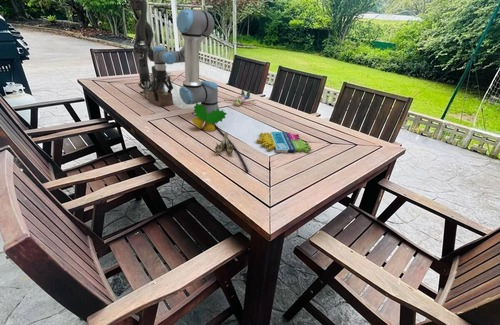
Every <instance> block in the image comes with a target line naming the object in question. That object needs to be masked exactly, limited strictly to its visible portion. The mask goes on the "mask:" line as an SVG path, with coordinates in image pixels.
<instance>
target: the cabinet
mask: <svg viewBox="0 0 500 325" xmlns="http://www.w3.org/2000/svg"><path fill="white" fill-rule="evenodd" d="M157 94H158V102H157V101H155V97H154V93H153V92H151V91H148V95H149V99H148V102H149V103H150V104H154V105H155V106H158V107H161V108H163V107H167V106H170V105H171V106H172V105H174V100H173V99H174V98H173V93H172V92H171V93H169V92H168V91H166V90H160V89H159V90H157Z"/></svg>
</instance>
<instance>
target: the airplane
mask: <svg viewBox="0 0 500 325" xmlns="http://www.w3.org/2000/svg"><path fill="white" fill-rule="evenodd" d="M165 70H166V77H167V76H169V77H175V75H174V74H171V72H167V68H166V69H165ZM149 75H150V81H151V82H152V78H153V77H152V72H149Z"/></svg>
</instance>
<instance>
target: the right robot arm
mask: <svg viewBox="0 0 500 325" xmlns="http://www.w3.org/2000/svg"><path fill="white" fill-rule="evenodd" d="M176 28H177V30H178V31H179V33H180V34H181V37H182V38H183V46H182V47H181V49H180V50H176V51H173V50H172V51H166V50H165V48H164V46H160V45H159V46H155V45H154V46H153V47H152V50H153V56H154V62H153V63H154V66H155V69H156V70H155V75H156V78H152V77H151V78H152V86H151V88H150V89H151V92H153V93H154V97H155V101H157V102H158V94H157V89H158V87H159V85H160V83H164V86H165V88H167V91H166V92H169V93H172V91H173V90H174V86H173V83H172V80H171V76H166V72H167V65H174V64H179V63H181V64H182V63H184V77H185V78H184V81H183V82H182V86H180V88H179V89H178V90H179V91H178V92H179V97H180V99H181V101H182V102H183V103H184V104H185V105H194V104H195V105H196V102H197V103H198V104H201V106H204V109H206V112H208V113H211V112H212V110H214V111H216V110H217V109H219V111H221V110H220V108H219V102H218V99H219V98H218V97H219V88H218V84H217V82H214V81H210V80H200V45H201V44H202V43H203V42H204V40H205V39H206V38H209V37H210V36H211V34H212V33H213V32H214V29H215V20H214V17H213V15H212V14H211V13H210V12H209V11H207V10H201V9H191V8H184V9H181V10H180V11H179V12H178V14H177V16H176ZM165 69H166V70H165ZM156 80H157V82H156ZM158 82H159V83H158ZM155 83H156V85H155ZM208 113H207V115H208ZM213 124H214V126H215V129H216V130H217V131H219V133H220V134H221V135H222V136H223V137H224V132H223V131H222V130H221V129H220V128H219V127H218V126H217V125H216V123H213ZM228 141H229V144H230V145H232V144H233V142H232V141H231V140H230V139H229V138H228ZM232 148H233V150H235V153H237V155H238V157H239V158H240V161H241V162H242V164H243V167H244V169H245V172H246V173H248V172H249V168H248V167H247V165H246V163H245V160H244V158H243V156H242V155H241V154H240V152H239V150H238V149H237V147H236V146H235V145H234V144H233V145H232Z"/></svg>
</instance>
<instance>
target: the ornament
mask: <svg viewBox="0 0 500 325" xmlns="http://www.w3.org/2000/svg"><path fill="white" fill-rule="evenodd" d="M219 110H220V108H219V109H217V110H216V111H214V110H212V112H211V113H208V112H206V109H204V106H201V103H197V102H196V104H195V105H194V106H193V112H194V113H195V118H192V119H191V122H192V123H193V125H195V127H197V128H198V129H202V130H203V131H206V132H212V131H213V132H214V131H215V130H216V127H215V126H214V124H213V123H215V124H218V123H219V122H223V119H226V115H227V114H228V113H227V112H224V110H223V109H221V110H220V111H219ZM207 113H208V115H207Z"/></svg>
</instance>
